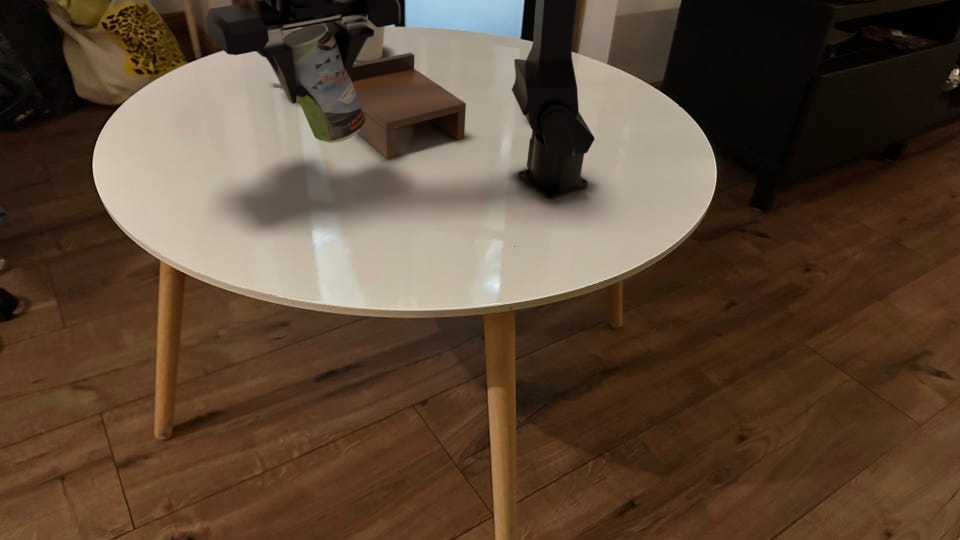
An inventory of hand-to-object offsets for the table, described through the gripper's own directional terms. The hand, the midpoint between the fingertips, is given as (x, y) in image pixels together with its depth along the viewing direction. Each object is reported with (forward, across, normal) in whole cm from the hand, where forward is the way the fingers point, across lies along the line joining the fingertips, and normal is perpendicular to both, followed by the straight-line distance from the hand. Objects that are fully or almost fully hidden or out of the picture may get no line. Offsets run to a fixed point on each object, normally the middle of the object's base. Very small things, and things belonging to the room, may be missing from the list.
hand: (315, 96), depth 75 cm
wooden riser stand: (+12, -16, -9) cm, 22 cm away
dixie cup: (+12, -24, -34) cm, 44 cm away
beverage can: (+5, -2, 0) cm, 5 cm away
